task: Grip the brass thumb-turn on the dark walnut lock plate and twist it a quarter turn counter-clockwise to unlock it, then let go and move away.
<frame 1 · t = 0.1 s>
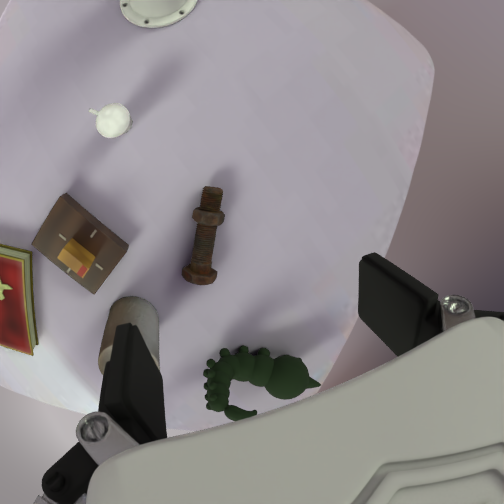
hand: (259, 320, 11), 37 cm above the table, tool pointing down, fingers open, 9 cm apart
milkshake: (120, 122, 38), on the table
pillar candle: (134, 317, 51), on the table
lock plate: (81, 241, 43), on the table
hardcover book: (10, 295, 42), on the table
thumbturn: (76, 257, 39), point 5 cm above the table, hinge at 0.0°
bolt: (204, 230, 48), on the table
toy figurine: (255, 356, 61), on the table
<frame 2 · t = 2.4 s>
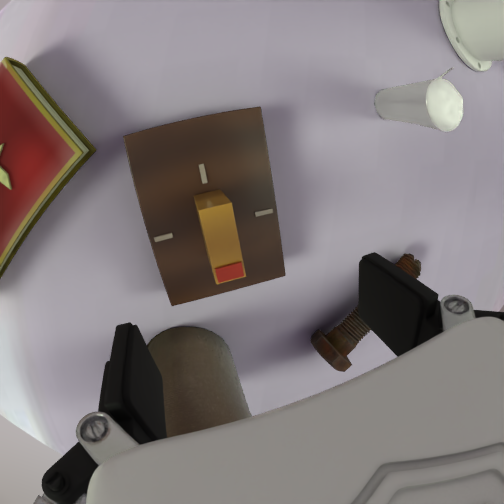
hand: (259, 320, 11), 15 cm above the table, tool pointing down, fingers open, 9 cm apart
milkshake: (383, 101, 25), on the table
pillar candle: (187, 359, 30), on the table
lock plate: (206, 202, 24), on the table
thumbturn: (218, 234, 20), point 5 cm above the table, hinge at 0.0°
bolt: (361, 298, 33), on the table
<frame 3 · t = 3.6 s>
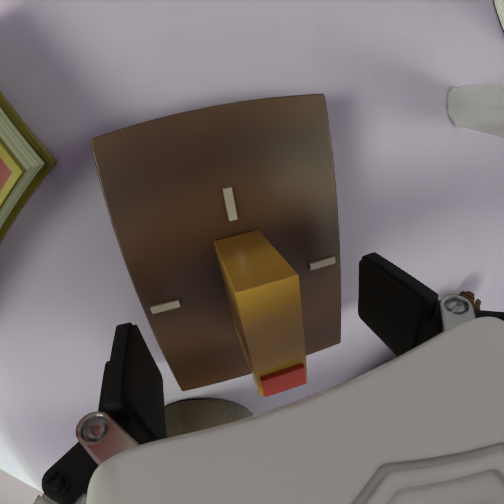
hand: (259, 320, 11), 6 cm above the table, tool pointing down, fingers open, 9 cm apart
milkshake: (454, 102, 16), on the table
pillar candle: (201, 428, 22), on the table
lock plate: (229, 242, 16), on the table
thumbturn: (260, 312, 12), point 5 cm above the table, hinge at 0.0°
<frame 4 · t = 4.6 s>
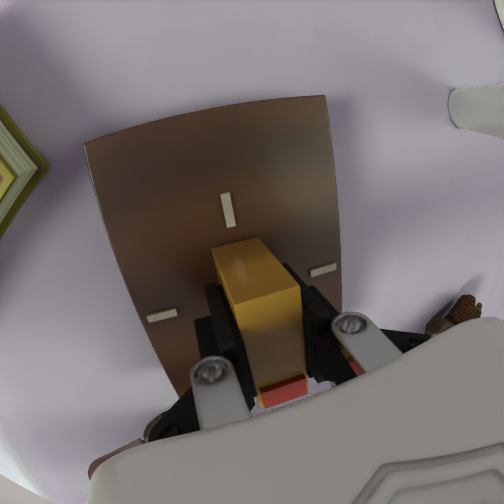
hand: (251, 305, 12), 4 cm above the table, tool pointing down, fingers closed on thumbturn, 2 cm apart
milkshake: (456, 103, 16), on the table
lock plate: (228, 248, 16), on the table
thumbturn: (259, 321, 11), point 5 cm above the table, hinge at -0.1°, touching gripper
bolt: (411, 348, 25), on the table
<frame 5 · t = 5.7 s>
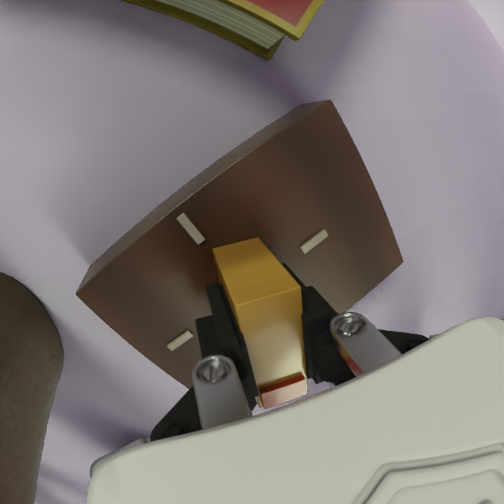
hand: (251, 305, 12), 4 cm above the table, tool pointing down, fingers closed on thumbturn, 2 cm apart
pillar candle: (6, 333, 14), on the table
lock plate: (246, 254, 16), on the table
thumbturn: (259, 322, 11), point 5 cm above the table, hinge at 65.2°, touching gripper
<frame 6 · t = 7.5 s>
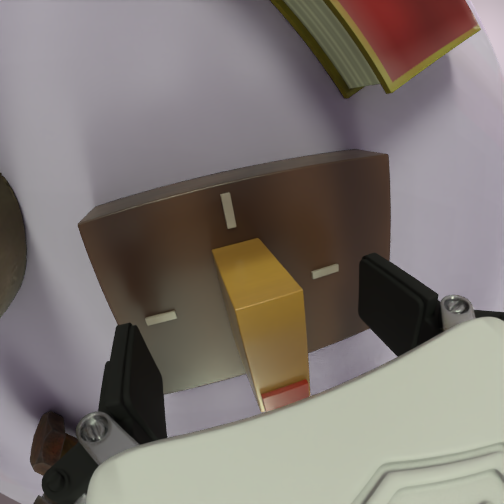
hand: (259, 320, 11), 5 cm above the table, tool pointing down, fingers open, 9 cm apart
lock plate: (249, 261, 16), on the table
thumbturn: (261, 325, 11), point 5 cm above the table, hinge at 89.9°
bolt: (117, 450, 20), on the table
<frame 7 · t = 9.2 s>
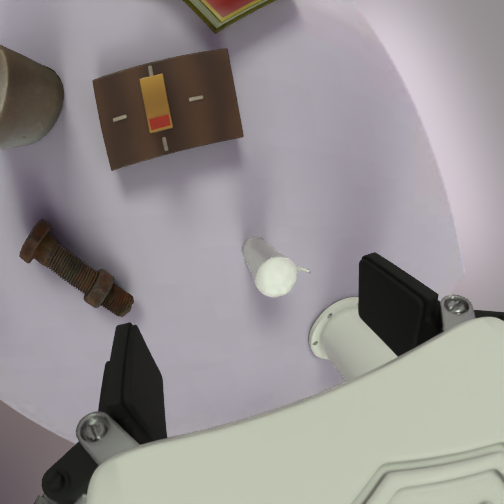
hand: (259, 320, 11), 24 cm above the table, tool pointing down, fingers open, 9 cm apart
milkshake: (256, 246, 38), on the table
pillar candle: (29, 105, 23), on the table
lock plate: (167, 107, 28), on the table
thumbturn: (156, 105, 23), point 5 cm above the table, hinge at 89.9°
bolt: (82, 265, 32), on the table
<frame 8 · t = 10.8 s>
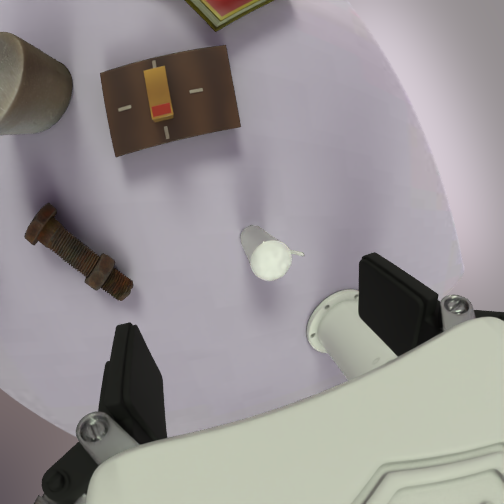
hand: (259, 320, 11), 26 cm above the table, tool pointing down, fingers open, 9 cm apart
milkshake: (254, 234, 39), on the table
pillar candle: (40, 97, 25), on the table
lock plate: (169, 100, 30), on the table
thumbturn: (159, 95, 25), point 5 cm above the table, hinge at 89.9°
bolt: (85, 250, 34), on the table
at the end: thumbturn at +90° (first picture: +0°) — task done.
